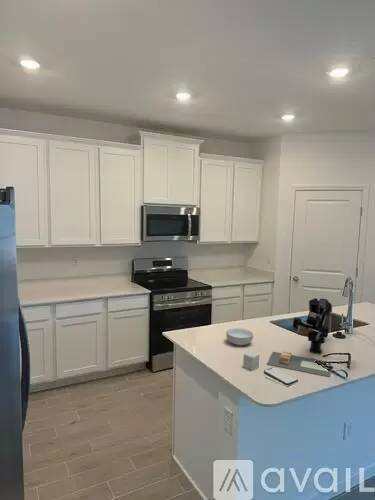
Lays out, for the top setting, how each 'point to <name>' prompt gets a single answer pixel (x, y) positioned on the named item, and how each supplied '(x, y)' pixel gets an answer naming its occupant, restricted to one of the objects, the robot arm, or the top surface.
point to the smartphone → (280, 376)
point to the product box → (251, 360)
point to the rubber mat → (300, 364)
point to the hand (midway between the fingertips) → (306, 337)
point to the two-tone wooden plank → (285, 358)
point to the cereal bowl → (239, 336)
